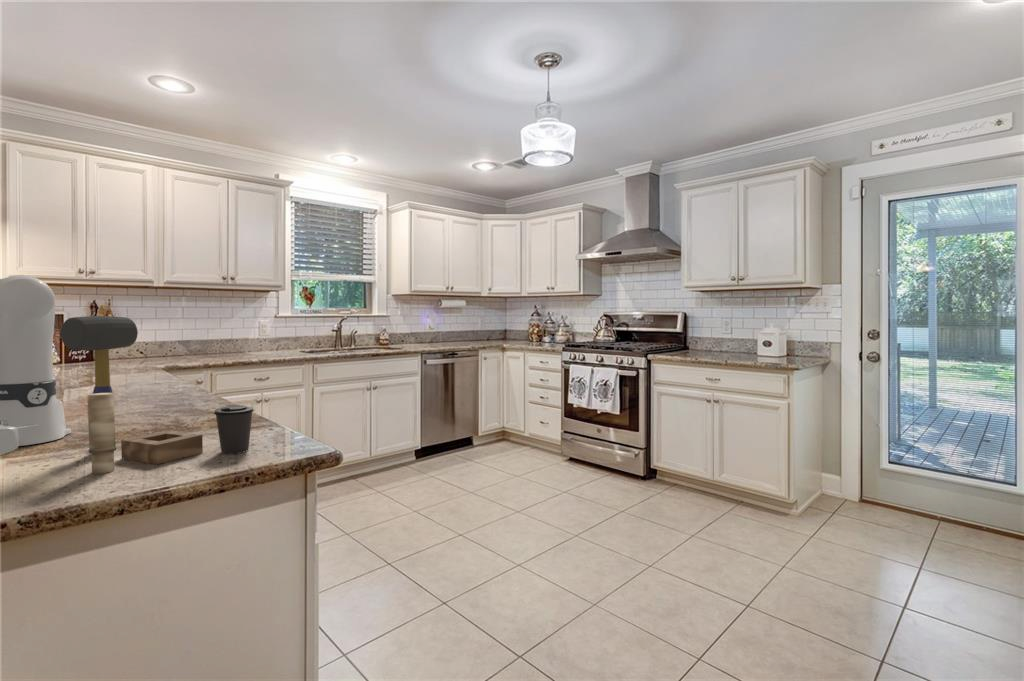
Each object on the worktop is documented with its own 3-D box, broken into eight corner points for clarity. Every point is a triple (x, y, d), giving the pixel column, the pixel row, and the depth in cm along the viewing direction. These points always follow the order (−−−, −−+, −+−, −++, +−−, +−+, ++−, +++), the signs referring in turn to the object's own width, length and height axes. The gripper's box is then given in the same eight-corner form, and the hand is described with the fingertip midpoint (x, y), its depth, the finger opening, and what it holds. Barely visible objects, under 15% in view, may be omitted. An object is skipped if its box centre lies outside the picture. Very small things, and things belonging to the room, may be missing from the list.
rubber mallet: (89, 461, 107) (84, 315, 106) (61, 458, 109) (55, 315, 108) (144, 446, 119) (140, 315, 118) (118, 444, 121) (114, 315, 120)
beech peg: (84, 473, 99) (81, 395, 99) (108, 467, 103) (105, 392, 102) (98, 475, 98) (95, 396, 97) (121, 469, 102) (119, 393, 101)
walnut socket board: (121, 458, 109) (121, 440, 109) (168, 447, 118) (168, 430, 118) (157, 464, 105) (156, 445, 105) (202, 452, 114) (202, 434, 114)
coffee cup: (212, 457, 111) (211, 410, 110) (215, 448, 118) (214, 404, 118) (254, 453, 114) (254, 408, 114) (255, 444, 122) (254, 402, 121)
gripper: (-130, 459, 80) (-12, 439, 92) (-61, 475, 72) (57, 451, 85) (-132, 418, 79) (-13, 404, 92) (-64, 430, 72) (56, 412, 84)
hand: (21, 426), depth 88 cm, fingers open, 8 cm apart
